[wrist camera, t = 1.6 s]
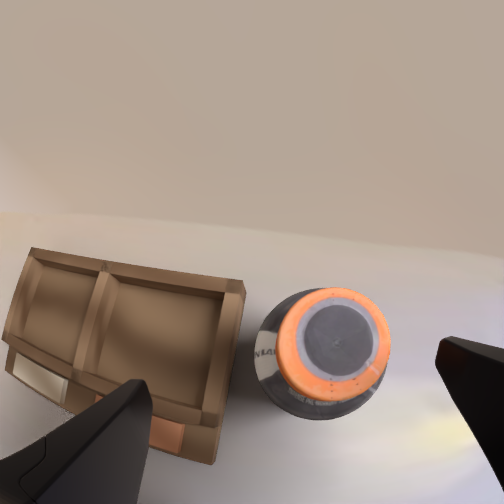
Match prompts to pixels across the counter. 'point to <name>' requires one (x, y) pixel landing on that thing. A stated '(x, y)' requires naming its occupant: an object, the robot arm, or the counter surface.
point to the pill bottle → (322, 353)
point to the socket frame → (128, 341)
